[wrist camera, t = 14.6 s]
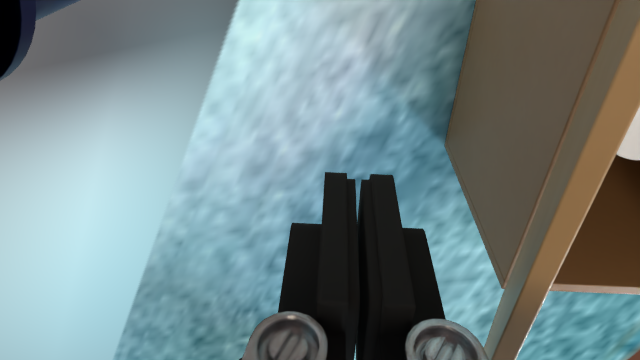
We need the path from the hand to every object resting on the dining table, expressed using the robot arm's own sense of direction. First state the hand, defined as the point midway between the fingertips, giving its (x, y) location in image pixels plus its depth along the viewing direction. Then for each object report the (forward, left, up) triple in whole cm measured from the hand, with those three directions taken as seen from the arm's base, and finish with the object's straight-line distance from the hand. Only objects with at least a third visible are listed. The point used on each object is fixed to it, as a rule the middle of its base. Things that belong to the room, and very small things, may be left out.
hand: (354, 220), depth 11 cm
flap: (+3, +4, 0) cm, 5 cm away
